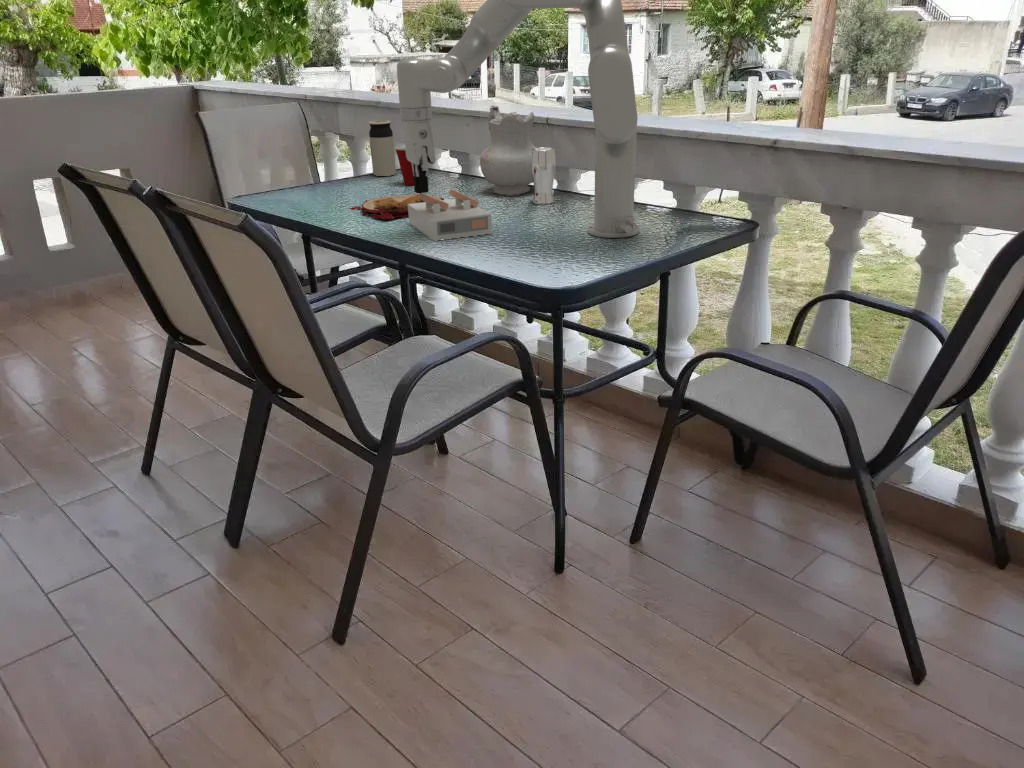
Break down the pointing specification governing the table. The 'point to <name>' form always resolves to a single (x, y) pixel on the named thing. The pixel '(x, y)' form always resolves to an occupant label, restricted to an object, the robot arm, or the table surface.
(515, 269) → the table surface
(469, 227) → the switch box
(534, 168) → the white cylinder
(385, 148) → the travel mug
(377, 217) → the plate with food
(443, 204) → the rocker
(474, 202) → the rocker
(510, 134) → the ceramic pitcher
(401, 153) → the plastic cup
